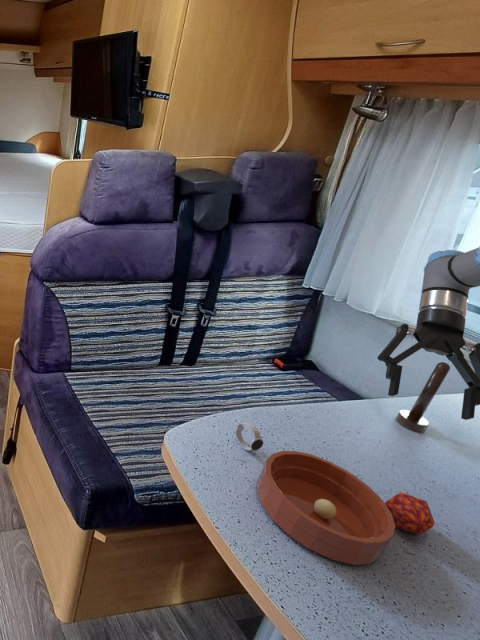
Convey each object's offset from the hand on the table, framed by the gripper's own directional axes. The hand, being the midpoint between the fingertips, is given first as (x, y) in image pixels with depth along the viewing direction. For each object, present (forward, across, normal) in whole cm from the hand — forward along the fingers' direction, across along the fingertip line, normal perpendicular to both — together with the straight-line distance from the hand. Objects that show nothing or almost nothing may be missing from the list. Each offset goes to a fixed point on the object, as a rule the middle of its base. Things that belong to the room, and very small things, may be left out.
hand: (429, 406), depth 98 cm
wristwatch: (+25, +32, +15) cm, 43 cm away
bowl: (+33, +21, +23) cm, 45 cm away
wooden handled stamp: (+3, 0, -7) cm, 8 cm away
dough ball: (+31, +20, +24) cm, 44 cm away
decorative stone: (+28, +8, +18) cm, 34 cm away
